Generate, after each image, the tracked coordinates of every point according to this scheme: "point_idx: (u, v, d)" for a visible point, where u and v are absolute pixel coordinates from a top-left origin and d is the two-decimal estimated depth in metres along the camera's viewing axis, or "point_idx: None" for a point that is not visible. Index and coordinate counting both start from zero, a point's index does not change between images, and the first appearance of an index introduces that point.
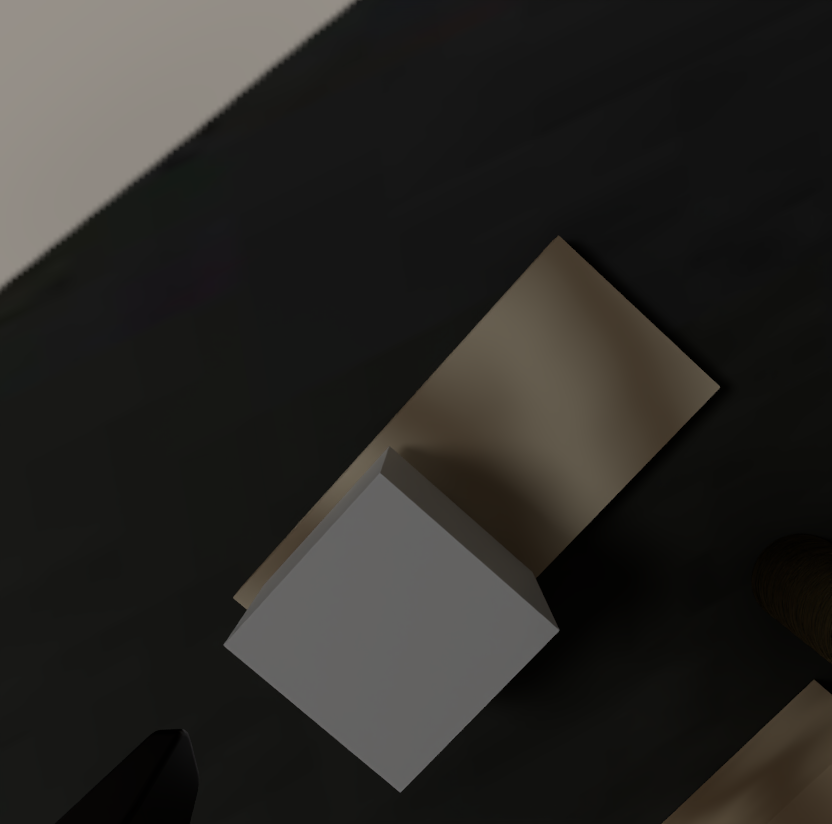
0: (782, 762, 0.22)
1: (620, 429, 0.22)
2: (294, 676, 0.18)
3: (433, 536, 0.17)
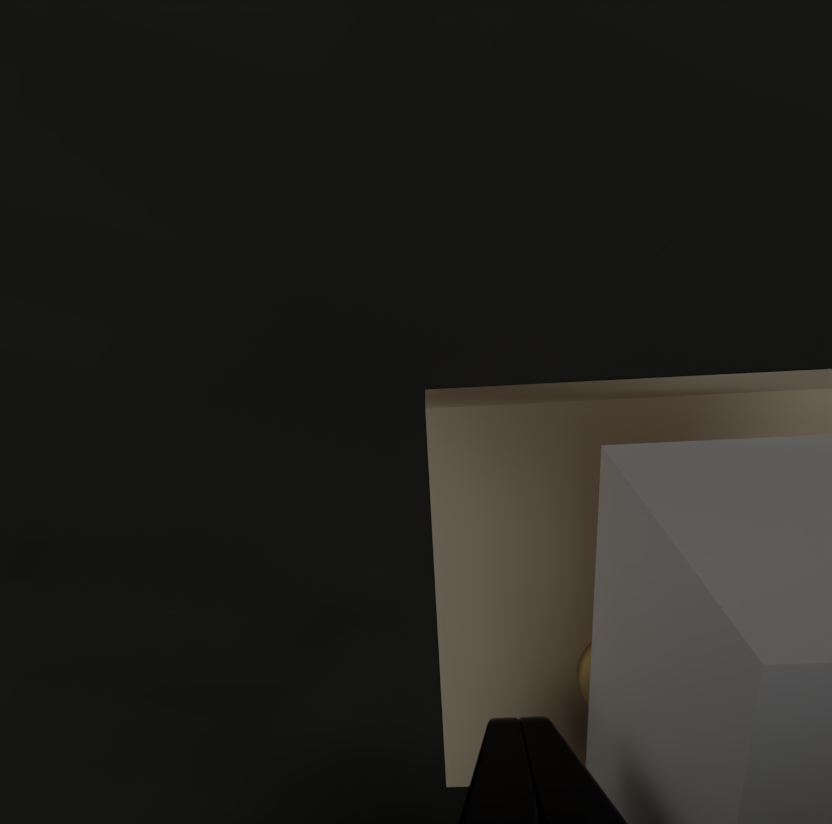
0: None
1: None
2: None
3: None
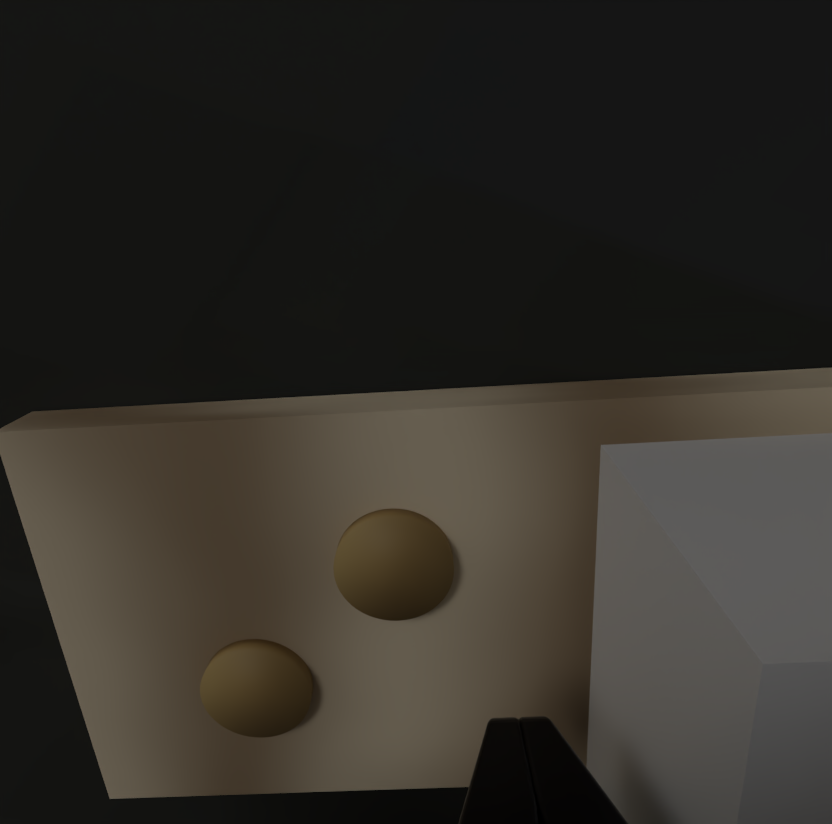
0: None
1: None
2: None
3: None
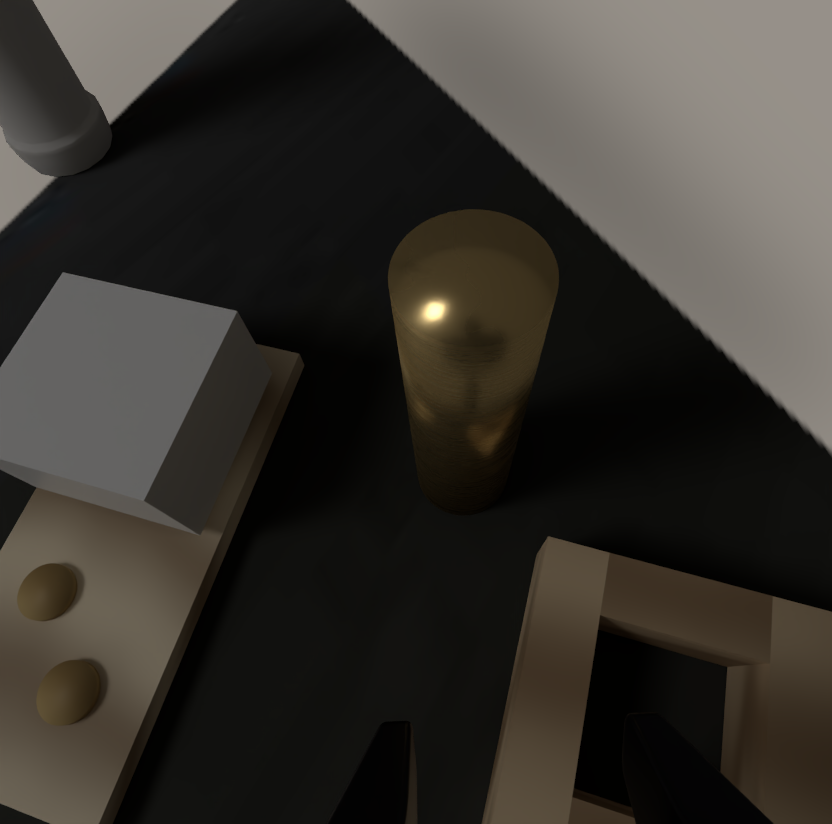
0: (524, 636, 0.19)
1: None
2: (19, 442, 0.19)
3: (115, 293, 0.21)
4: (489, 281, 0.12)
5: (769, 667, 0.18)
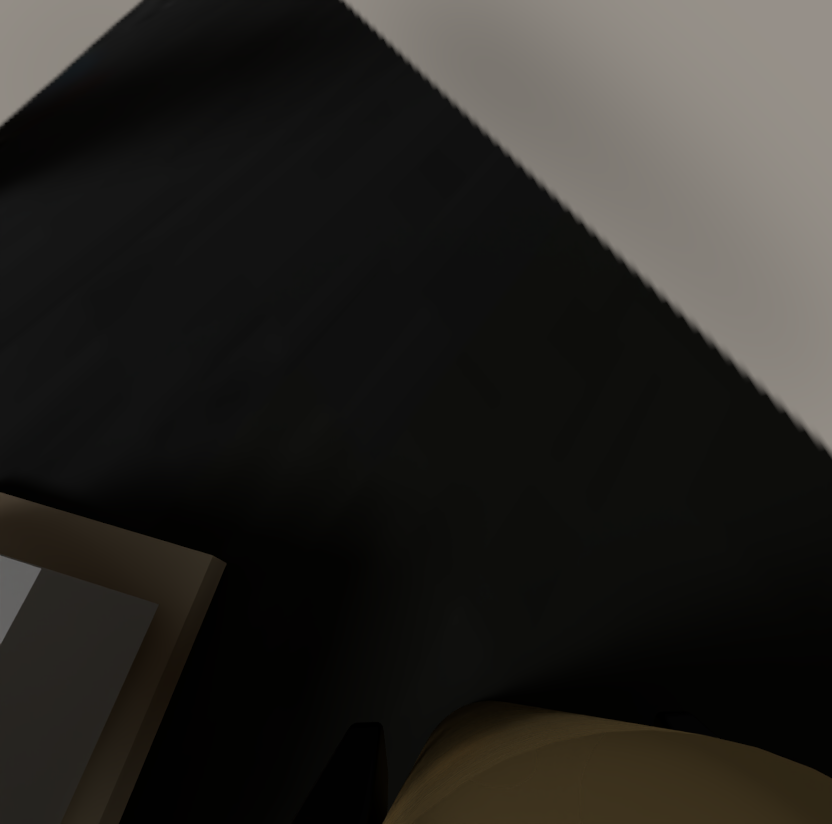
0: None
1: None
2: None
3: None
4: None
5: None
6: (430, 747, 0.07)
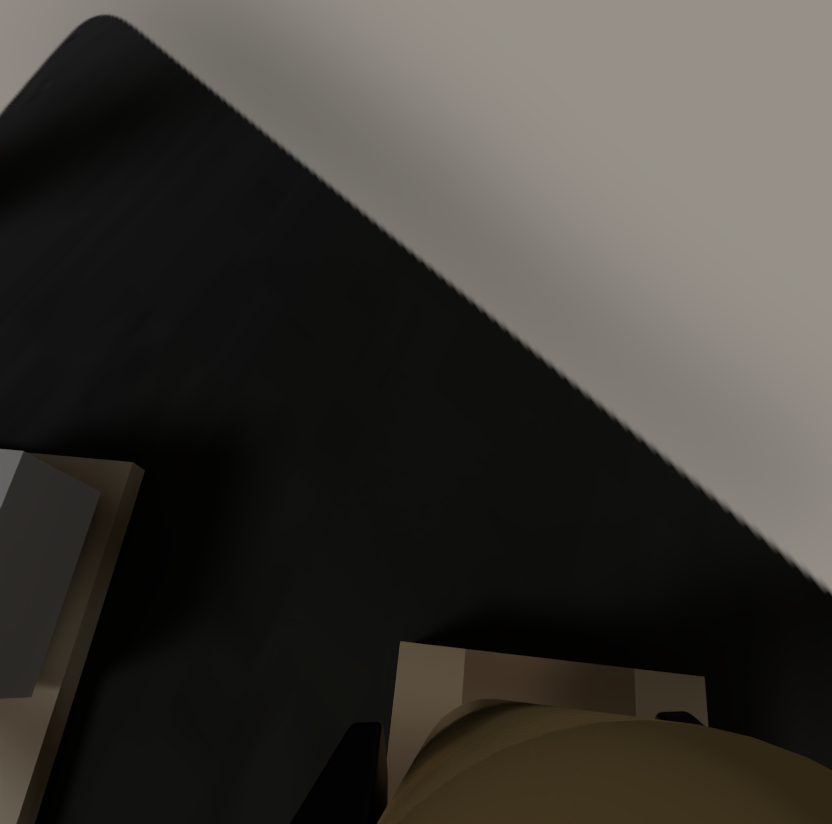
0: None
1: None
2: None
3: None
4: None
5: None
6: (428, 743, 0.07)
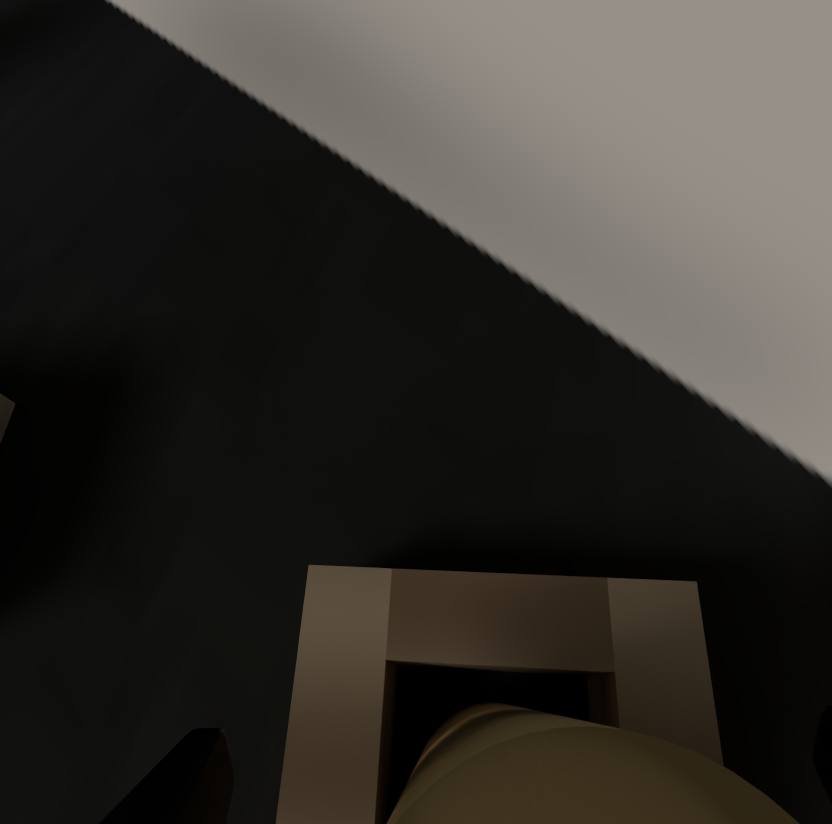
0: None
1: None
2: None
3: None
4: None
5: (614, 678, 0.13)
6: (434, 742, 0.09)
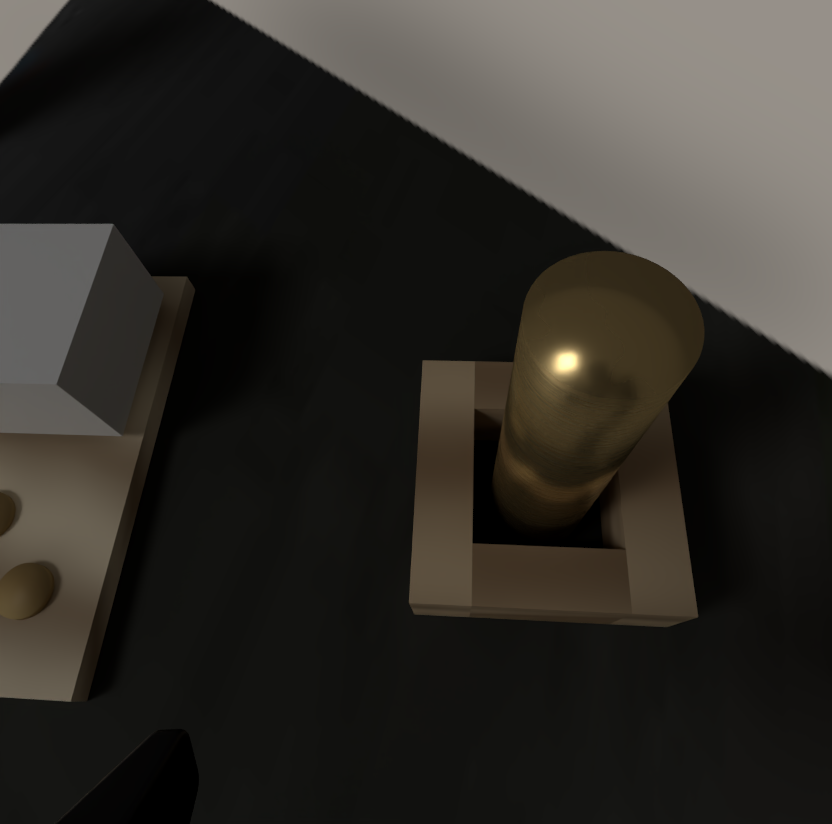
0: None
1: None
2: None
3: None
4: (629, 328, 0.12)
5: None
6: None
